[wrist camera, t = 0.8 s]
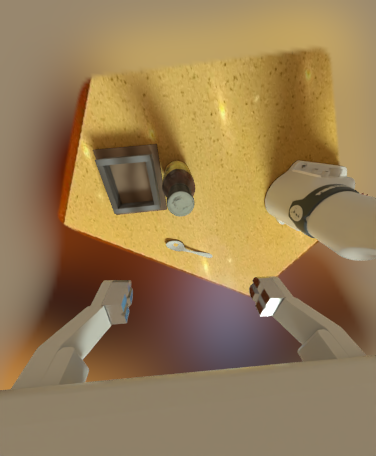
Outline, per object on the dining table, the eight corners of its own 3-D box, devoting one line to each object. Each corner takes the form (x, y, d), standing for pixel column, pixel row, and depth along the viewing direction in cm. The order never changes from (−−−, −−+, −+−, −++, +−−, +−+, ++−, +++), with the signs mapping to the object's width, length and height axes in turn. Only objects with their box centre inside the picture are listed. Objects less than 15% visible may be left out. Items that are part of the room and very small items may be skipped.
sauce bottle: (164, 159, 36) (157, 176, 19) (190, 160, 37) (204, 178, 20) (165, 186, 39) (159, 221, 22) (188, 187, 40) (199, 221, 23)
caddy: (156, 144, 34) (154, 144, 30) (166, 207, 43) (166, 214, 39) (95, 149, 34) (84, 150, 30) (117, 213, 42) (111, 220, 38)
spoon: (168, 236, 48) (168, 239, 47) (221, 254, 54) (222, 257, 53) (163, 245, 50) (163, 248, 48) (215, 262, 56) (216, 265, 54)
